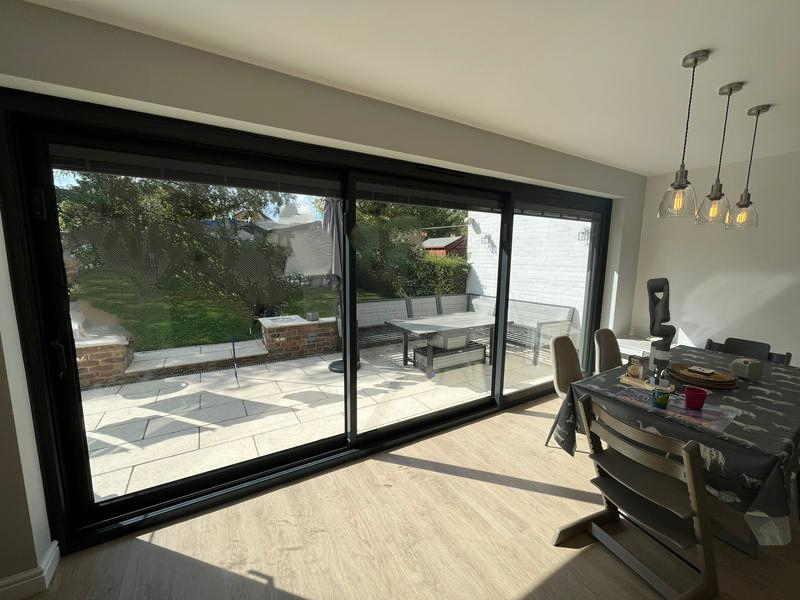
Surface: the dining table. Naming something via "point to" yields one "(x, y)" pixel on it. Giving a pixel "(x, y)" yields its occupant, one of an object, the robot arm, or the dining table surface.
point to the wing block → (660, 382)
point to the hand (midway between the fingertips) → (659, 383)
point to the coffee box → (637, 367)
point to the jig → (644, 383)
